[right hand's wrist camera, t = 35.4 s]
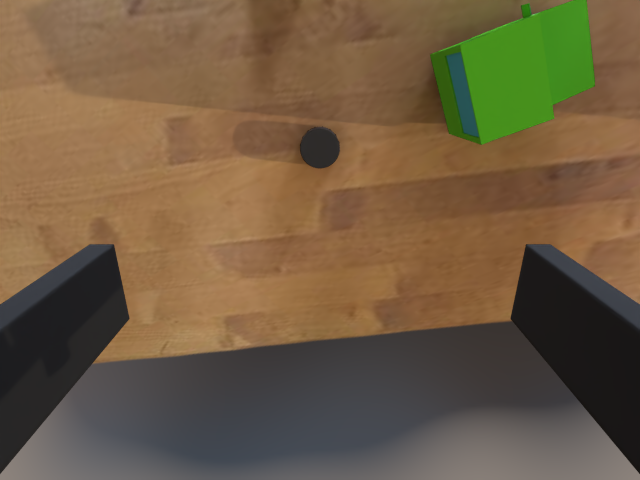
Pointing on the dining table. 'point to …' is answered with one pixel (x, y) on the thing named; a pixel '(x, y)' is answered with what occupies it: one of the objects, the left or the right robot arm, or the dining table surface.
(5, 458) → the right robot arm
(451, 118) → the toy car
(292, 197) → the dining table surface
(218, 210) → the dining table surface
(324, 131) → the cap
